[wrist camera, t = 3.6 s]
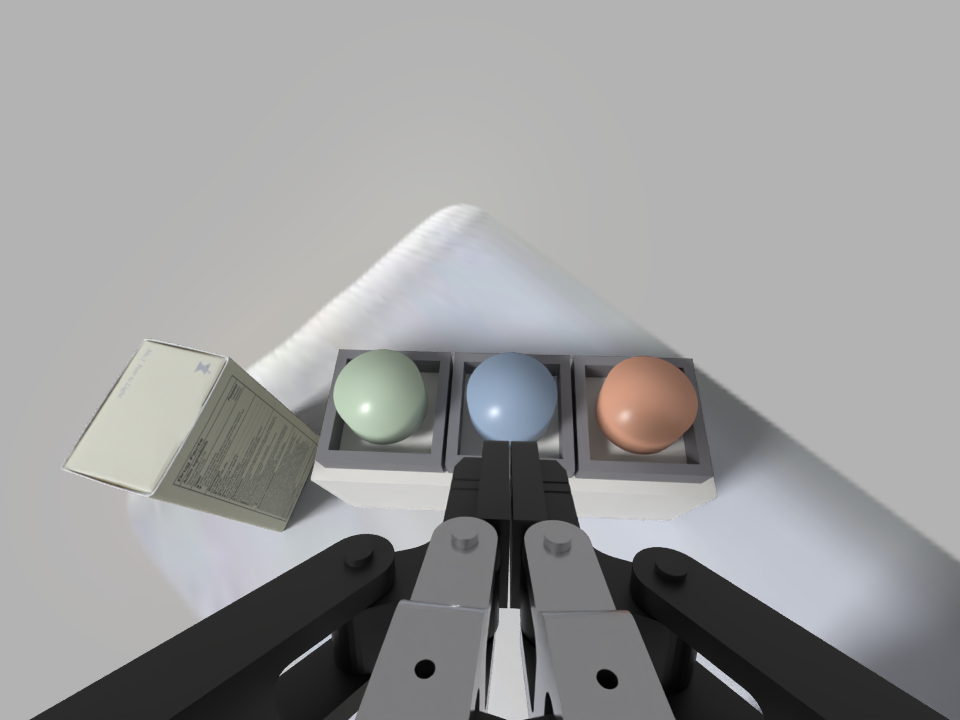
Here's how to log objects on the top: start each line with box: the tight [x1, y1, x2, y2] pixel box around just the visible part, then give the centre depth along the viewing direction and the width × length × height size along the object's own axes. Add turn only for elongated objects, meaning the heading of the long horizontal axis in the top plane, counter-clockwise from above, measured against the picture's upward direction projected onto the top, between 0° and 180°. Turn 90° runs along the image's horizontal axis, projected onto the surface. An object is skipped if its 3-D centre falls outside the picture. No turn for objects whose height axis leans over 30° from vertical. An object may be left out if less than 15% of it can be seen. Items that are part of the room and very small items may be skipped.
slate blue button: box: [467, 353, 557, 450], centre depth 21 cm, size 4×4×2 cm
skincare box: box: [61, 339, 320, 532], centre depth 24 cm, size 6×4×12 cm
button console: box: [311, 349, 717, 521], centre depth 26 cm, size 19×7×8 cm, turn 87°
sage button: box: [333, 349, 428, 445], centre depth 22 cm, size 4×4×2 cm
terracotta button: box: [595, 356, 698, 455], centre depth 21 cm, size 4×4×2 cm
